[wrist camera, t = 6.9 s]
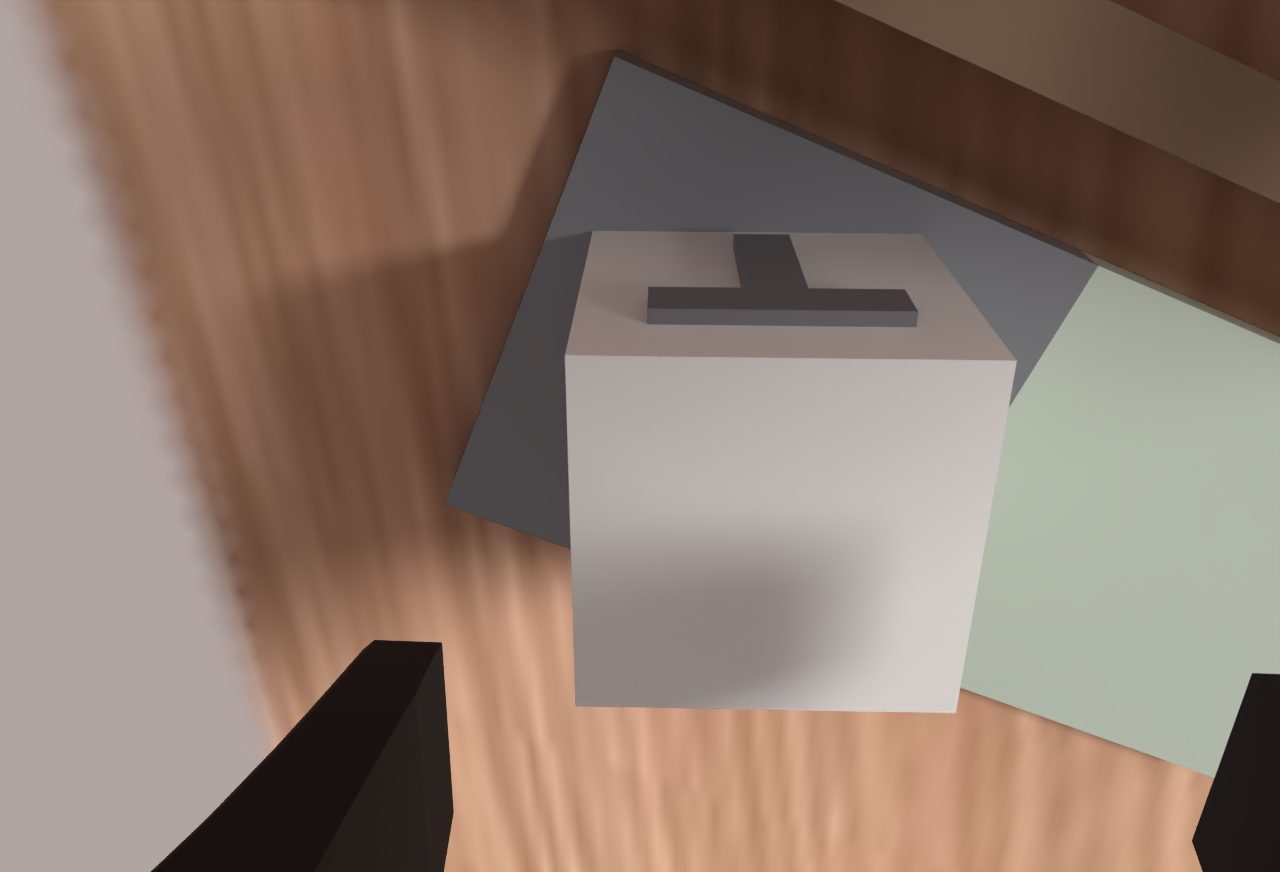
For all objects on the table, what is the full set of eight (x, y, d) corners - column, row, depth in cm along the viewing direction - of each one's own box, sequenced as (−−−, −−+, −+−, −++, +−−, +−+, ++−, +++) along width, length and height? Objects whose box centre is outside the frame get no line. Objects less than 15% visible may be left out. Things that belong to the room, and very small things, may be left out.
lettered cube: (922, 220, 16) (1020, 343, 12) (886, 516, 19) (955, 712, 14) (592, 217, 16) (564, 338, 12) (597, 512, 19) (575, 706, 14)
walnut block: (1669, 287, 17) (1892, 373, 14) (1613, 351, 18) (1816, 448, 15) (492, -270, 14) (443, -318, 11) (465, -174, 15) (410, -194, 12)
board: (1483, 425, 18) (1516, 446, 18) (1203, 751, 22) (1220, 780, 21) (617, 49, 16) (614, 55, 15) (452, 482, 19) (444, 504, 19)
